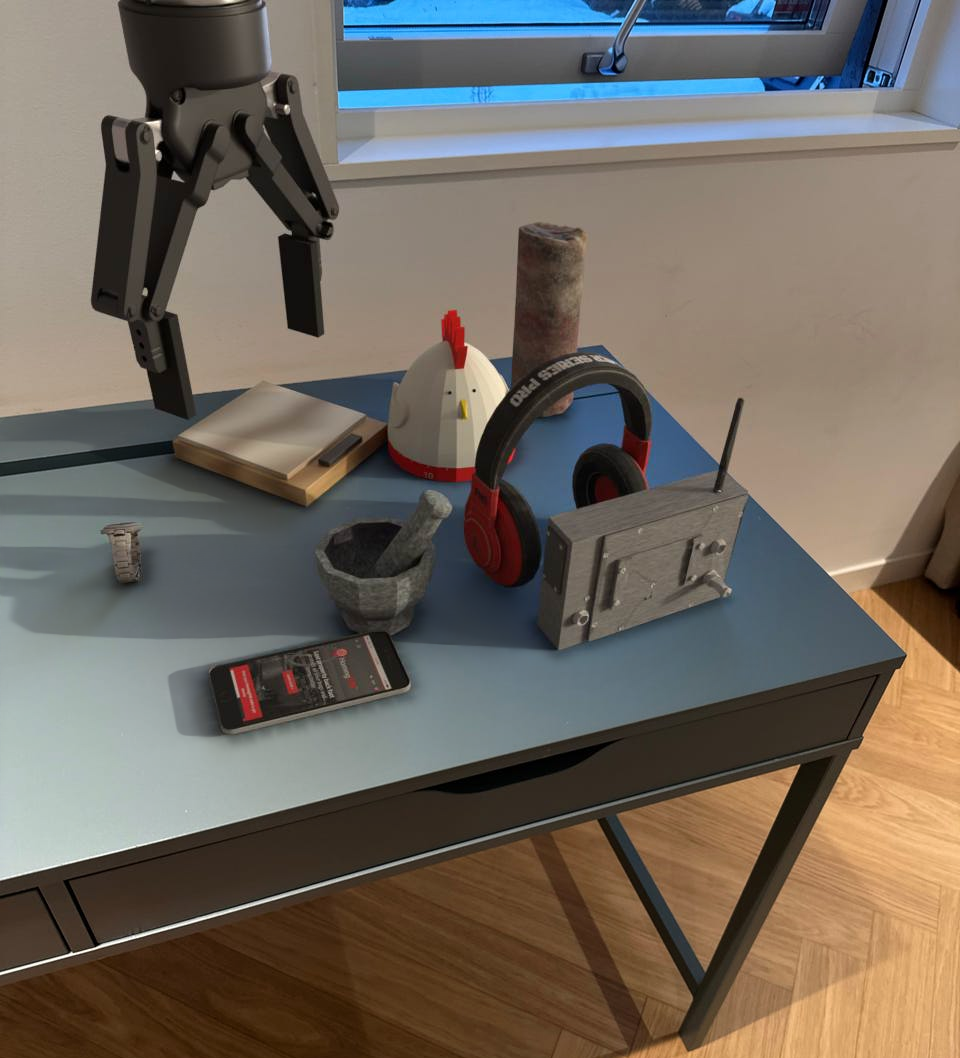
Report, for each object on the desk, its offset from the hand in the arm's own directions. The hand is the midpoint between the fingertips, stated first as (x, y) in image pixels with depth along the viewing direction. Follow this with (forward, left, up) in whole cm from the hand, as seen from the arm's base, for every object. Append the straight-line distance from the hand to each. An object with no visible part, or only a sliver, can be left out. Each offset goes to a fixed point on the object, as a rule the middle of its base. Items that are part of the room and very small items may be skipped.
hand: (245, 369), depth 63 cm
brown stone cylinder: (+1, +47, -24) cm, 53 cm away
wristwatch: (-17, -1, -24) cm, 30 cm away
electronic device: (+25, +17, -24) cm, 39 cm away
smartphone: (+6, -4, -24) cm, 25 cm away
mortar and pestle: (+6, +6, -24) cm, 26 cm away
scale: (-18, +23, -24) cm, 38 cm away
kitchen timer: (-3, +33, -24) cm, 41 cm away
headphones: (+15, +21, -24) cm, 36 cm away
